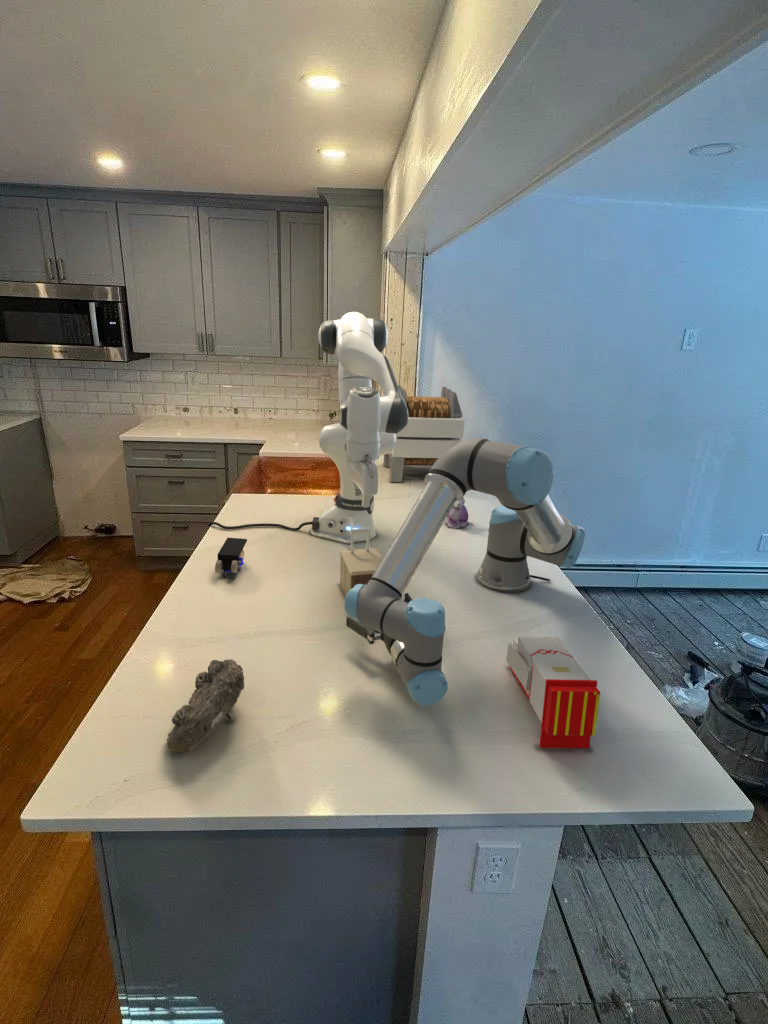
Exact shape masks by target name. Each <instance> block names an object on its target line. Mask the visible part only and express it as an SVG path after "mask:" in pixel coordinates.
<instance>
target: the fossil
mask: <svg viewBox="0 0 768 1024" xmlns="http://www.w3.org/2000/svg"><path fill="white" fill-rule="evenodd" d="M243 670H244V669H243V667H242V665H240V664H237V662H236V661H235V660H234V659H232V658H231V659H227V658H226V659H224V660H223V661H222V660H217V659H212V660H211V661H210V663H209V665H208V666H207V671H201V672H199V673H198V674H197V675H196V676H195V680H194V684H195V685H194V687H195V689H194V690H193V693H192V694H191V697H190V698H189V700H188V704H184V705H182V706H181V707H180V709H177V710H176V711H175V713H174V715H173V716H172V718H171V723H172V724H173V727H172V730H171V731H170V732H168V734H167V738H166V741H167V742H166V745H167V749H168V750H169V751H173V752H174V753H176V754H178V753H182V752H188V751H189V752H192V751H193V750H195V748H196V747H197V746H199V744H200V743H201V742H203V741H204V740H205V739H206V738H207V737H208V736H209V735H210V734H211V733H212V732H214V730H215V729H217V727H218V726H219V724H220V722H221V721H222V720H223V719H224V718H225V716H226V717H227V719H229V720H233V717H232V715H230V714H229V710H230V709H231V708H234V706H235V704H236V703H237V702H238V699H239V697H240V695H241V693H242V691H243V690H245V689H244V688H245V675H244V671H243Z"/></svg>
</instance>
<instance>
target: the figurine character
mask: <svg viewBox="0 0 768 1024" xmlns="http://www.w3.org/2000/svg"><path fill="white" fill-rule="evenodd" d="M247 542H248V538H240V537H226V539H225V541H224V543H223V544H222V546H221V547H220V549H219V551H218V552H217V560H216V562H215V564H214V572H215V573H221V577H222V578H224V577H225V576H226V574H227V573H230V574H231V573H232V574H231V578H234V577H235V575H236V573H237V572H239V571H240V567H242V566H243V565H244V564H245V562H244V558H245V551H244V547H245V546H246V544H247Z"/></svg>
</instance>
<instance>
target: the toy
mask: <svg viewBox="0 0 768 1024" xmlns="http://www.w3.org/2000/svg"><path fill="white" fill-rule="evenodd" d="M505 659H506V660H505V661H506V663H507V664H508V666H509V667H508V669H510V671H511V673H512V674H513V676H514V678H515V680H516V681H517V683H518V685H519V686H520V688H521V689H522V691H523V693H524V694H525V696H526V698H527V700H529V703H530V705H531V707H532V708H533V711H534V712H535V715H536V716H537V718H538V720H539V722H540V725H541V726H540V736H539V744H538V746H539V748H540V749H590V746H591V736H592V737H595V735H596V731H597V730H596V729H597V722H598V721H597V720H598V714H599V713H598V712H599V703H600V697H601V691H600V690H599V688H598V680H596V679H591V678H590V677H589V675H588V674H587V673H586V672H585V670H584V669H583V668H582V667H581V665H580V664H579V663H578V661H577V660H576V659H575V657H574V656H573V655H572V653H570V650H569V649H568V648H567V647H566V645H564V643H563V642H562V641H561V639H560V638H559V637H548V636H547V637H546V636H545V637H543V636H518V638H517V637H515V638H512V643H511V642H508V646H507V653H506V658H505Z"/></svg>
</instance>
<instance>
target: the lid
mask: <svg viewBox="0 0 768 1024" xmlns="http://www.w3.org/2000/svg"><path fill="white" fill-rule="evenodd" d="M370 533H371V529H370V528H362V529H350V534H351V543H350V549H343V550H340V557H341V556H342V558H343V560H344V562H345V564H346V566H347V568H348V570H349V572H350V574H351V575H363V574H374V572H375V570H376V569H377V567H378V565H379V564H380V562H381V560H382V559H383V557H382V556H381V555H380V553H379V552H378V550H377V548H375V547H370V540H371V539H370ZM357 534H367V540H366V542H365V543H366V545H365V546H366V547H365V548H357V549H355V547H354V546H355V545H354V544H355V542H354V535H357Z"/></svg>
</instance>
